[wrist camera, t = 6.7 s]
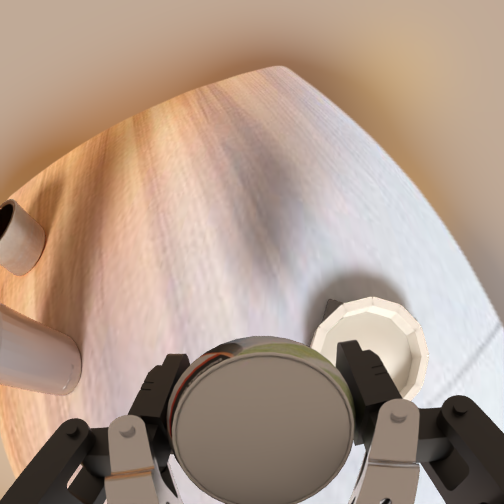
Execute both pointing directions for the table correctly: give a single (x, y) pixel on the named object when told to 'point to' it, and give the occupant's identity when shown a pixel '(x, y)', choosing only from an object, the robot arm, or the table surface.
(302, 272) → the table surface
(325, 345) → the bowl
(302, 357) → the beverage can
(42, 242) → the planter
